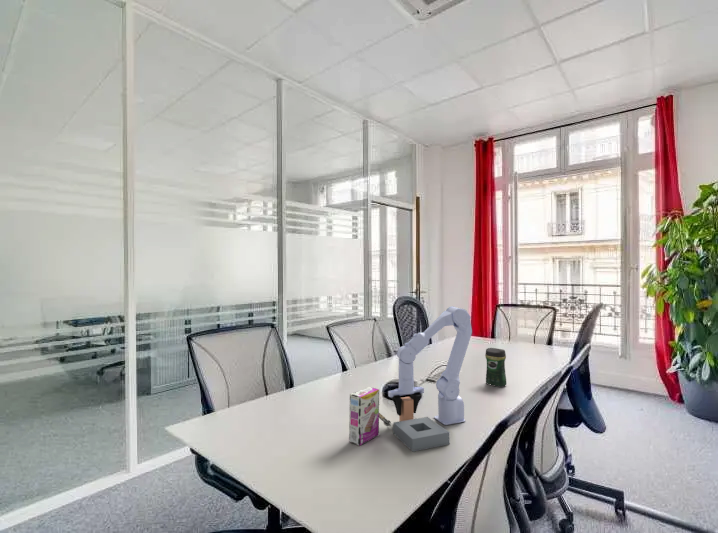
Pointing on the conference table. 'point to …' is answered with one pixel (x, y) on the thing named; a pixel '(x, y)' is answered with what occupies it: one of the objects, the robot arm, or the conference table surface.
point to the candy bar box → (364, 416)
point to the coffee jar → (495, 367)
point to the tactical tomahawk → (384, 419)
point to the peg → (406, 409)
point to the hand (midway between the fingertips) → (406, 413)
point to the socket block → (420, 433)
